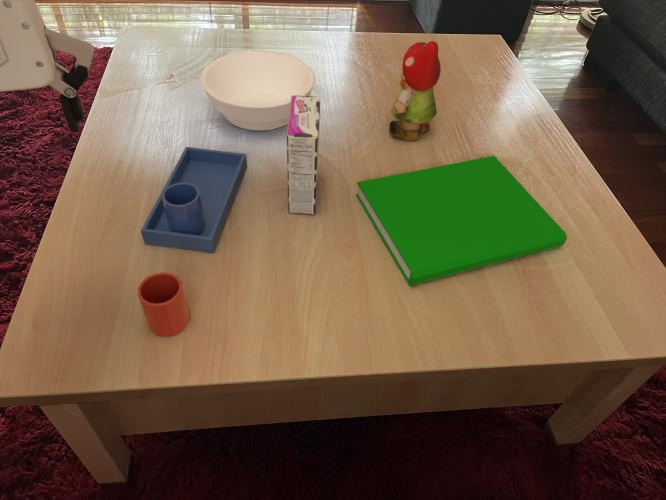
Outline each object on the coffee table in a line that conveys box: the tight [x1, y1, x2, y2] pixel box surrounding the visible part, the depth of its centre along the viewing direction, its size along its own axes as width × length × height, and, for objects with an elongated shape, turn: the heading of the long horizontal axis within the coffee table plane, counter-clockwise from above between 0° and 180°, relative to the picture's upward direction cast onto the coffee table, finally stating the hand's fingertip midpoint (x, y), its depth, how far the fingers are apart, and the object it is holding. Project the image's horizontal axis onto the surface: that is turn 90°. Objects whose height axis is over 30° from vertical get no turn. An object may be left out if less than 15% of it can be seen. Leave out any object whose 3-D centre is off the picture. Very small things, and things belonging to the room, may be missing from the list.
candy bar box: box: [286, 95, 321, 216], centre depth 87 cm, size 11×5×16 cm, turn 179°
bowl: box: [200, 49, 316, 131], centre depth 107 cm, size 22×22×8 cm
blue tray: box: [140, 146, 248, 254], centre depth 89 cm, size 22×11×3 cm, turn 173°
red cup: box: [136, 271, 190, 338], centre depth 71 cm, size 6×6×7 cm
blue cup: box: [162, 182, 205, 235], centre depth 83 cm, size 6×6×7 cm
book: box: [355, 155, 568, 286], centre depth 90 cm, size 22×28×3 cm
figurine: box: [388, 40, 442, 141], centre depth 101 cm, size 11×9×20 cm
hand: (26, 130), depth 55 cm, fingers open, 9 cm apart
